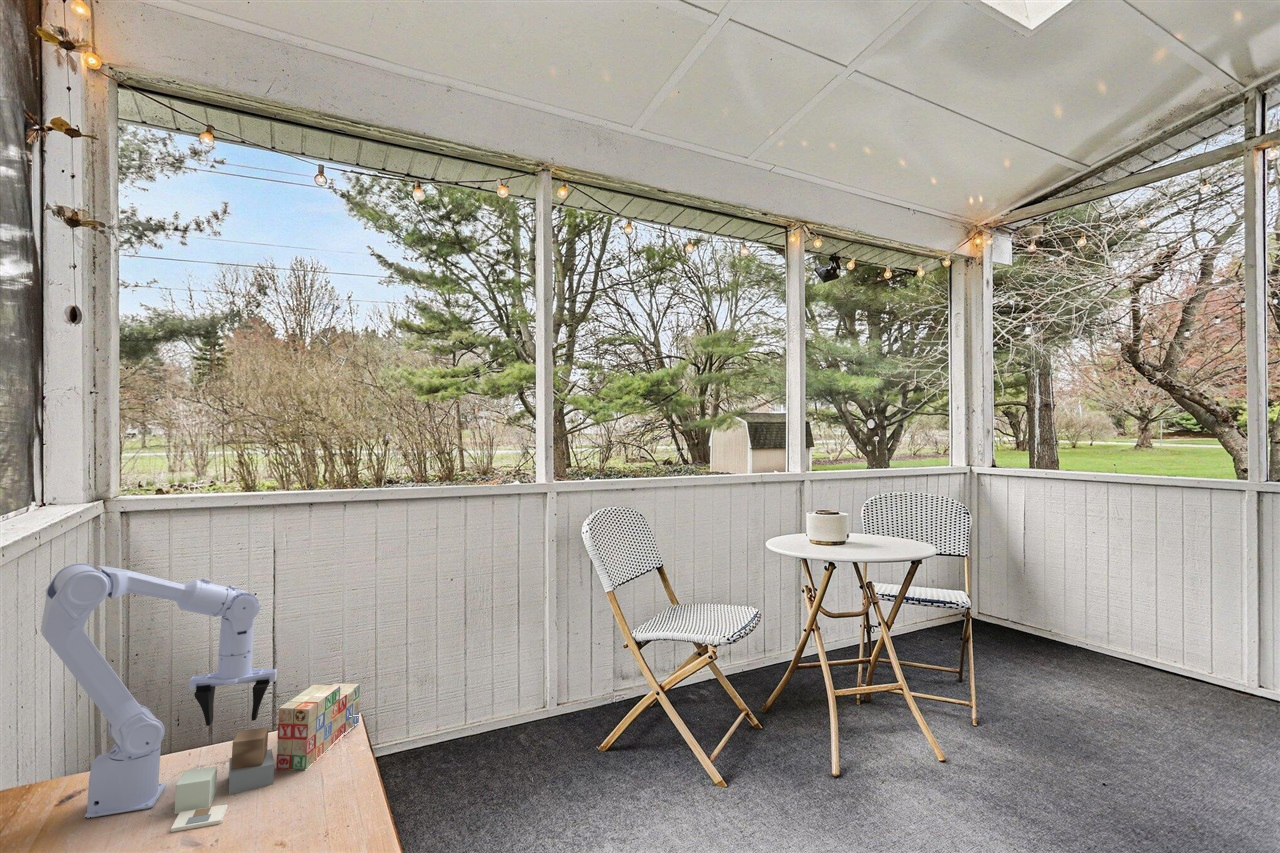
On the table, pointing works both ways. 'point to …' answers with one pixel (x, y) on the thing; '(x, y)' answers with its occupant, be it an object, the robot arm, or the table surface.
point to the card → (199, 818)
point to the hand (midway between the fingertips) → (232, 721)
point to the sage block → (195, 789)
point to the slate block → (252, 775)
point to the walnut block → (249, 748)
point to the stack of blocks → (315, 723)
